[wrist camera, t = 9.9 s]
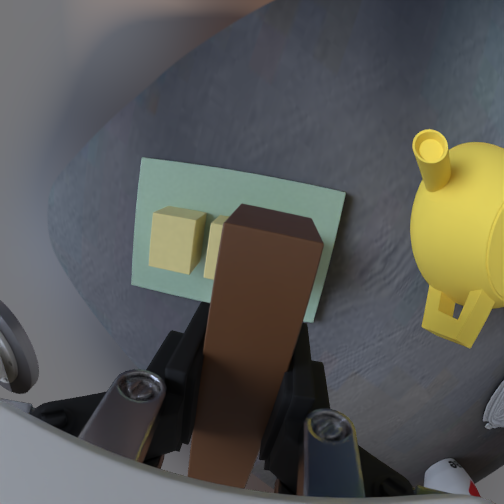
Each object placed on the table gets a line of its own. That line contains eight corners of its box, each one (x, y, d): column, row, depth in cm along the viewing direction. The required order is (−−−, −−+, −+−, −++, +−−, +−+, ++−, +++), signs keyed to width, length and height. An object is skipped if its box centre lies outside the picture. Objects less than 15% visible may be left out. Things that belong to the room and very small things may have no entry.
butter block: (212, 263, 25) (203, 278, 22) (219, 214, 24) (210, 222, 21) (299, 280, 25) (301, 297, 22) (310, 232, 24) (314, 242, 21)
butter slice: (163, 253, 26) (148, 266, 23) (168, 205, 24) (152, 212, 21) (200, 261, 25) (189, 275, 22) (207, 212, 24) (196, 220, 21)
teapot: (551, 204, 21) (625, 229, 11) (464, 344, 26) (516, 412, 16) (424, 63, 20) (498, 20, 9) (313, 238, 25) (334, 297, 14)
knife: (240, 203, 10) (221, 223, 7) (312, 218, 10) (326, 246, 6) (189, 516, 16) (180, 551, 13) (221, 523, 16) (213, 559, 13)
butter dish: (134, 281, 28) (131, 284, 27) (145, 157, 24) (141, 157, 24) (312, 318, 27) (313, 323, 26) (344, 191, 24) (346, 192, 23)
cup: (463, 467, 32) (481, 512, 23) (417, 488, 34) (430, 536, 25) (463, 444, 31) (485, 494, 21) (412, 468, 32) (427, 522, 23)
